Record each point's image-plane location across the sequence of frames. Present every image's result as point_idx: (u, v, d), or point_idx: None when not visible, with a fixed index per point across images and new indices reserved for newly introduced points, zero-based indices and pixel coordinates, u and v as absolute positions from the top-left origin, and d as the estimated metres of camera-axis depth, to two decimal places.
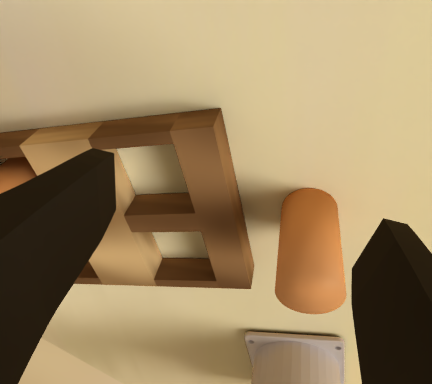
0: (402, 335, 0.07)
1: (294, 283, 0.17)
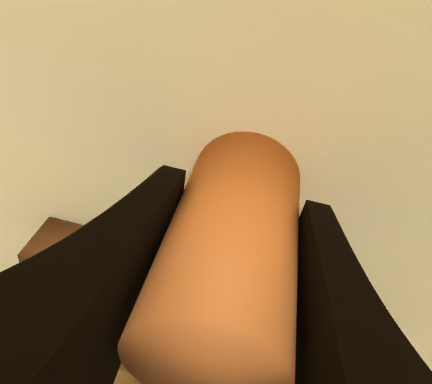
0: (305, 310, 0.07)
1: (162, 378, 0.07)
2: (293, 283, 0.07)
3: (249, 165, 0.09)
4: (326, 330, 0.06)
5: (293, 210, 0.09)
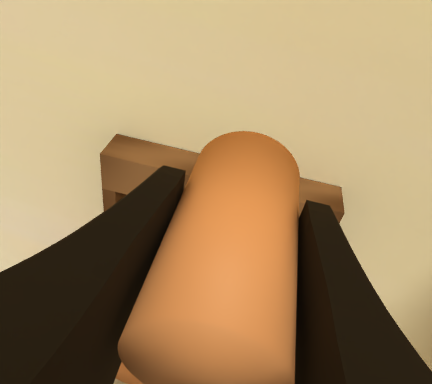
0: (306, 310, 0.07)
1: (162, 377, 0.07)
2: (293, 282, 0.07)
3: (249, 164, 0.09)
4: (326, 330, 0.06)
5: (293, 209, 0.09)
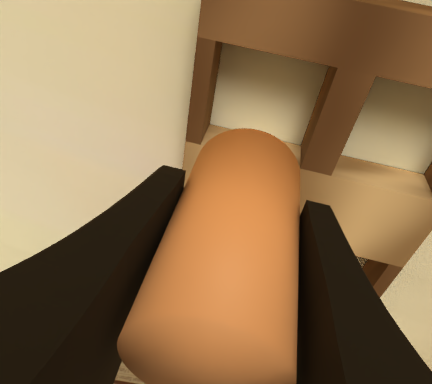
0: (305, 310, 0.07)
1: (161, 374, 0.07)
2: (295, 281, 0.07)
3: (252, 162, 0.09)
4: (326, 330, 0.06)
5: (295, 208, 0.09)
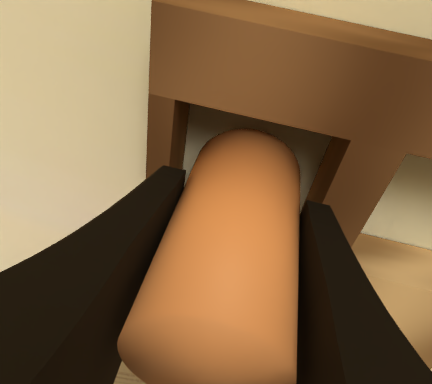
0: (305, 310, 0.07)
1: (161, 373, 0.07)
2: (295, 281, 0.07)
3: (252, 162, 0.09)
4: (326, 330, 0.06)
5: (295, 208, 0.09)
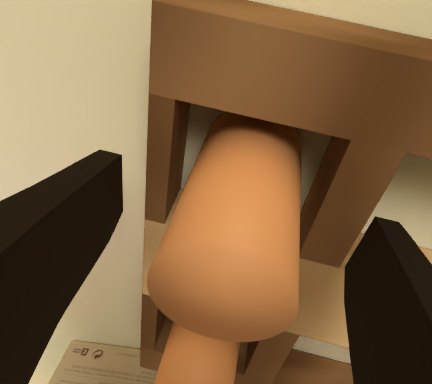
0: (392, 332, 0.07)
1: (183, 307, 0.08)
2: (297, 229, 0.08)
3: (258, 132, 0.10)
4: None
5: (296, 173, 0.10)
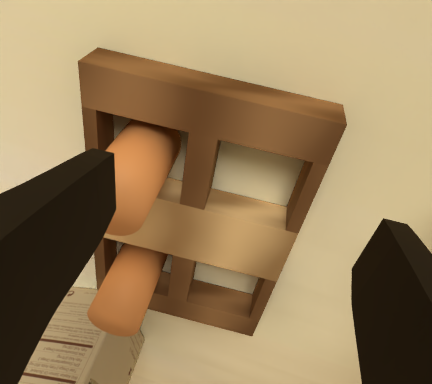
0: (402, 335, 0.07)
1: None
2: (153, 177, 0.16)
3: (144, 128, 0.18)
4: None
5: (165, 151, 0.18)
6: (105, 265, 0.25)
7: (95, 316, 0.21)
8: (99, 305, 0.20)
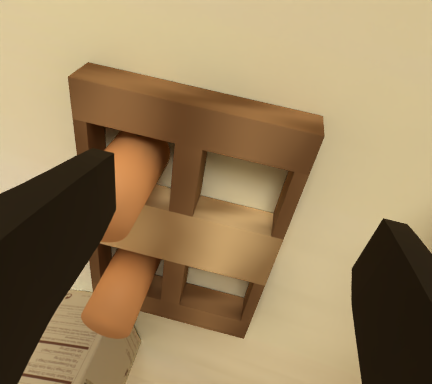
0: (402, 335, 0.07)
1: None
2: (140, 186, 0.17)
3: (133, 139, 0.19)
4: None
5: (152, 160, 0.18)
6: (100, 269, 0.26)
7: (89, 319, 0.22)
8: (92, 309, 0.21)
